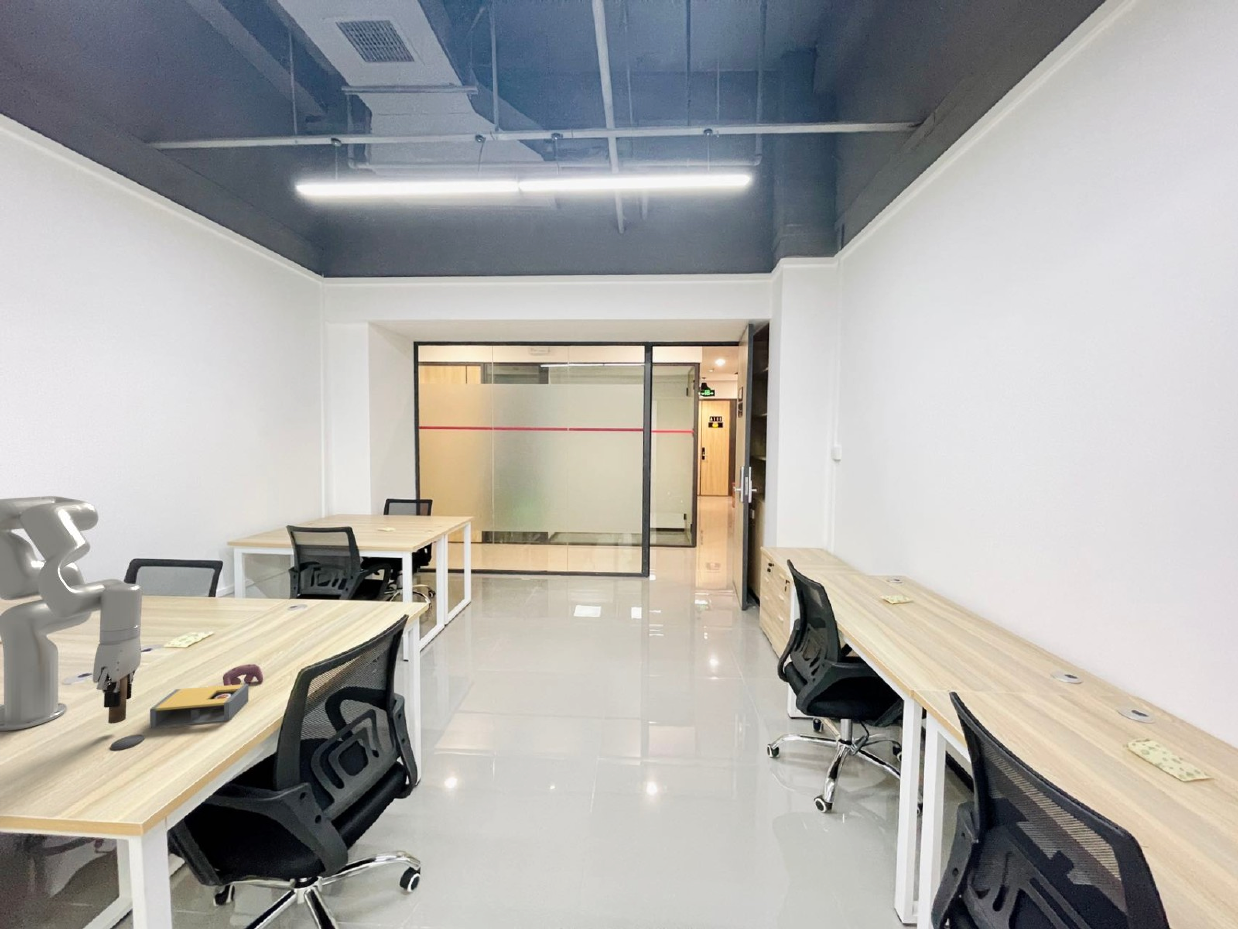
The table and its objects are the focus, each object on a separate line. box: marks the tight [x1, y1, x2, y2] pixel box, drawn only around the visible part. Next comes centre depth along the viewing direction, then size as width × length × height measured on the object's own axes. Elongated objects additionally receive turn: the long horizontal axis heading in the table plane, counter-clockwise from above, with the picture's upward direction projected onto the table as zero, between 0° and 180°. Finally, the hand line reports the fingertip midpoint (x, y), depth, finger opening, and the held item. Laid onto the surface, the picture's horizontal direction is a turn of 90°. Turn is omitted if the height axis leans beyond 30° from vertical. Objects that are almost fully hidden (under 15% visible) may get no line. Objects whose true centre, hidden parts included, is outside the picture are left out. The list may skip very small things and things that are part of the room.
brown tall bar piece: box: [107, 675, 128, 725], centre depth 130 cm, size 3×3×13 cm
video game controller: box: [222, 663, 264, 686], centre depth 157 cm, size 10×5×7 cm, turn 141°
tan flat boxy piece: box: [149, 683, 250, 729], centre depth 139 cm, size 18×11×5 cm, turn 104°
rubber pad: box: [110, 734, 145, 751], centre depth 125 cm, size 6×6×1 cm
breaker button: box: [215, 694, 231, 699], centre depth 140 cm, size 4×4×2 cm
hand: (117, 702), depth 130 cm, fingers closed on brown tall bar piece, 3 cm apart
